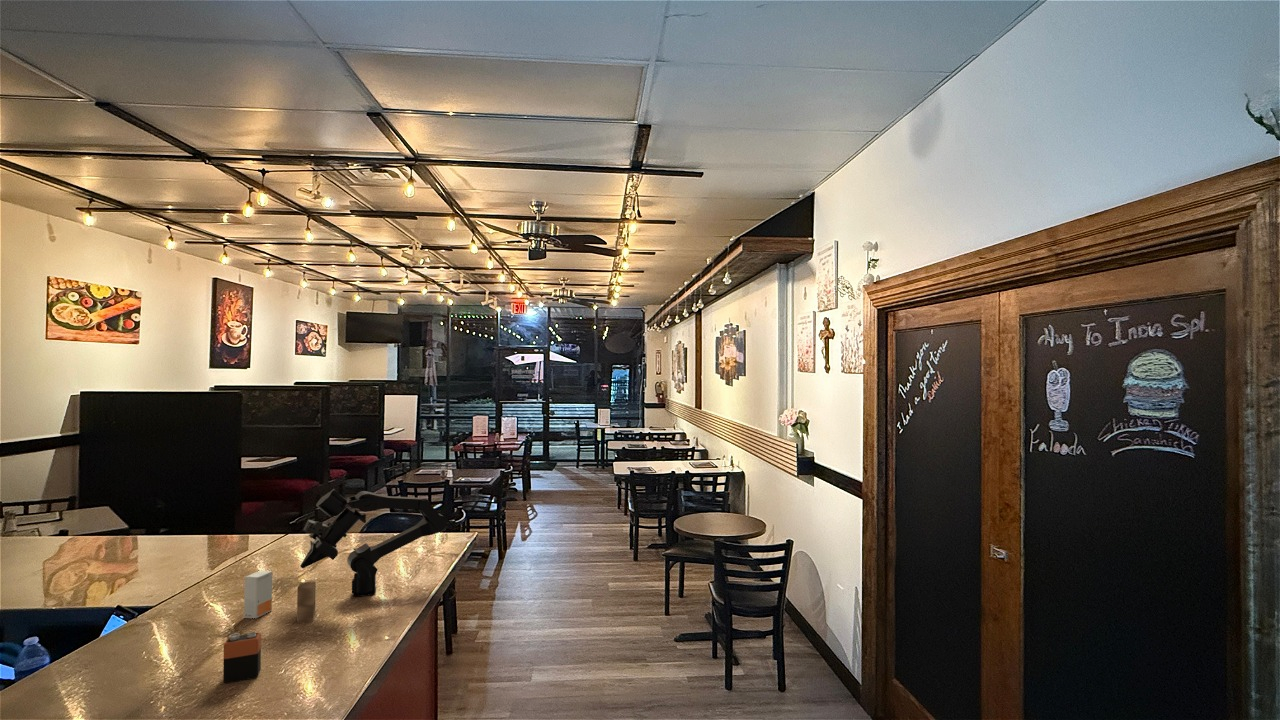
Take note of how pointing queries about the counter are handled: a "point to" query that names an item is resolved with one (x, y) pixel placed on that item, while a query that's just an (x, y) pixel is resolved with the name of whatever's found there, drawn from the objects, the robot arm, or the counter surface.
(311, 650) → the counter surface
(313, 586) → the walnut block
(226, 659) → the battery
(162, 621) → the counter surface
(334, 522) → the robot arm
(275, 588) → the counter surface
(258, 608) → the skincare box
